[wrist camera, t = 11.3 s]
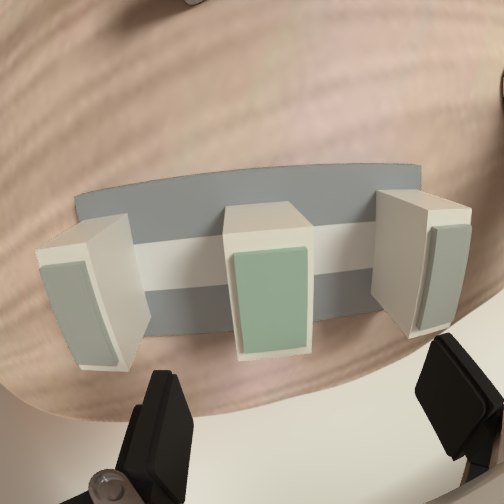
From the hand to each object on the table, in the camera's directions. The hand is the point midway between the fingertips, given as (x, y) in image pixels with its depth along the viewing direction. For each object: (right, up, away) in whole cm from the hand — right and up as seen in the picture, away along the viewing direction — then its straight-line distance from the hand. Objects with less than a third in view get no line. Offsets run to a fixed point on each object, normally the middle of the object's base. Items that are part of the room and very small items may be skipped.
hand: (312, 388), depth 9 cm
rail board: (-2, +5, +14) cm, 15 cm away
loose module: (-1, +4, +13) cm, 14 cm away
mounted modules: (-2, +4, +13) cm, 14 cm away
